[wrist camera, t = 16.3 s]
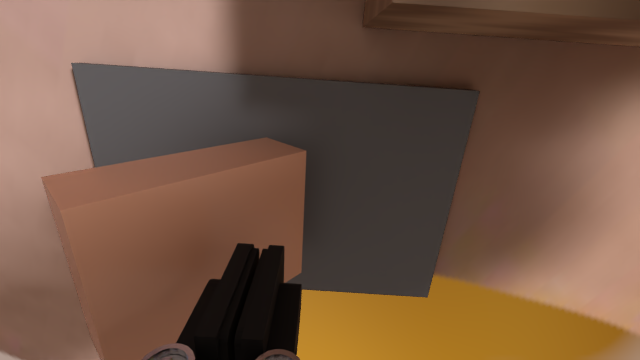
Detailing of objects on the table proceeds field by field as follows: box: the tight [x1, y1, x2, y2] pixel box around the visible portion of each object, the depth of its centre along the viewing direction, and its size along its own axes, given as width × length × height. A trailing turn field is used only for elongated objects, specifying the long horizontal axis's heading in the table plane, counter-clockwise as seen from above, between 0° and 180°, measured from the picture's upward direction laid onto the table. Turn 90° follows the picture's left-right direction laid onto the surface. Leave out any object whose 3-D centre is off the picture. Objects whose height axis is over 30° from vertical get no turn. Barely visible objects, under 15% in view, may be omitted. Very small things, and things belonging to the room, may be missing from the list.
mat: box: [71, 63, 480, 297], centre depth 18 cm, size 20×13×1 cm, turn 86°
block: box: [41, 137, 306, 360], centre depth 13 cm, size 3×7×9 cm
